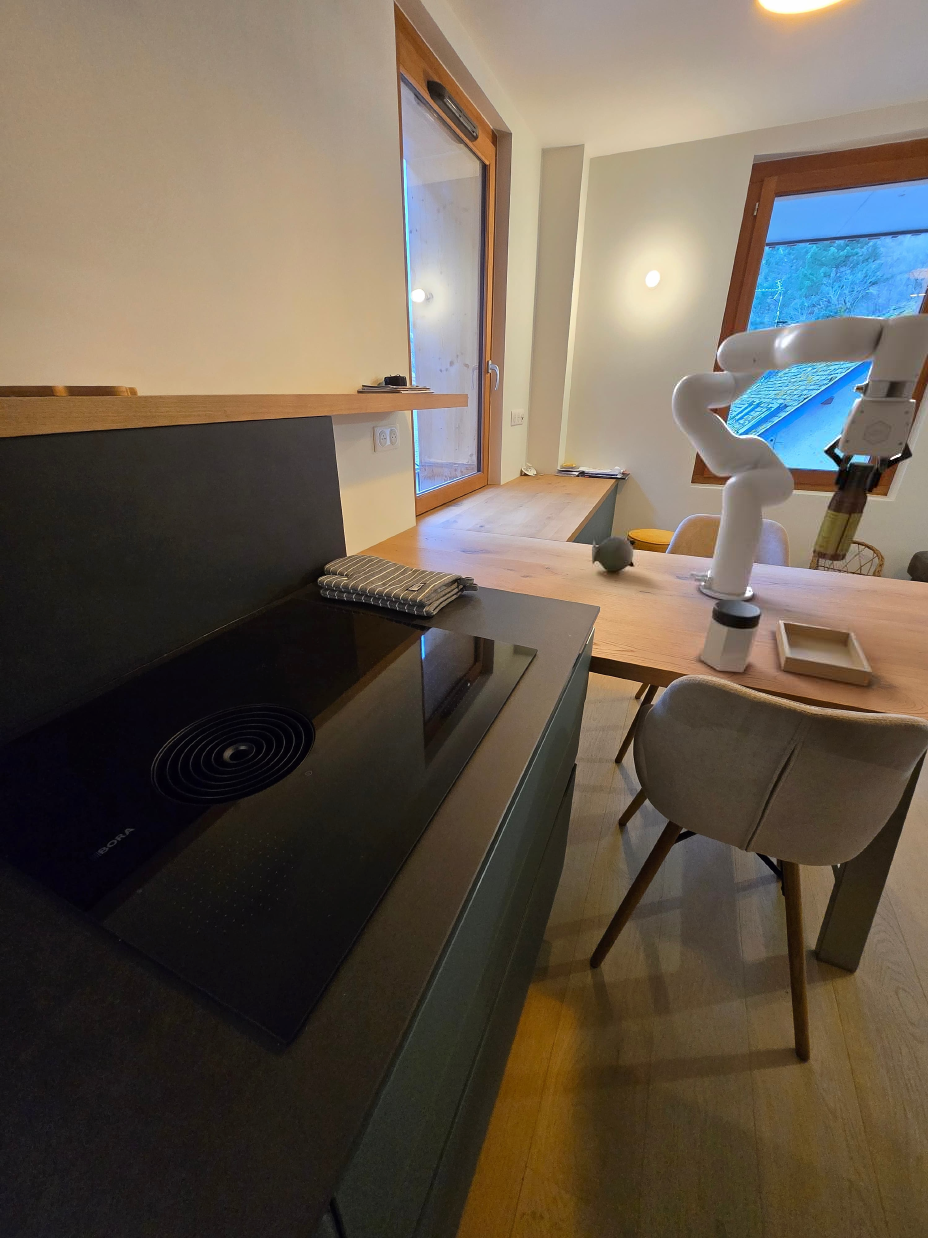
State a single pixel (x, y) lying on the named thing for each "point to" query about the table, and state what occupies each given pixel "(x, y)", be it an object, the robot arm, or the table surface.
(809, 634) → the tray
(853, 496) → the sauce bottle
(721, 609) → the jar
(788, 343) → the robot arm
